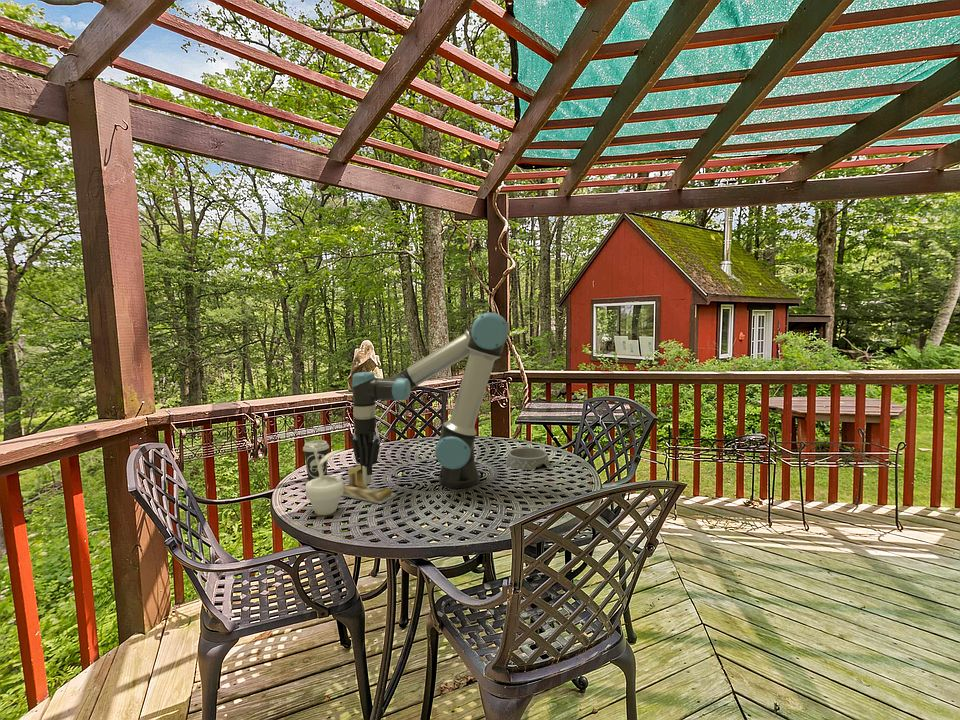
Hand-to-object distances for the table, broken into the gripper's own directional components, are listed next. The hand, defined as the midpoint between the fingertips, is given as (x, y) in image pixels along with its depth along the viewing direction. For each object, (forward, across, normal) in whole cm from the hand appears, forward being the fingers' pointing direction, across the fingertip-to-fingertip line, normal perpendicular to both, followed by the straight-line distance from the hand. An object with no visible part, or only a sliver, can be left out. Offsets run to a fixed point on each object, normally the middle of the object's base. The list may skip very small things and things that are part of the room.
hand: (367, 483), depth 169 cm
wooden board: (+4, -2, +1) cm, 4 cm away
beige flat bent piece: (+3, -1, +1) cm, 3 cm away
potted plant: (+4, +2, +17) cm, 18 cm away
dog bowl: (+4, -38, -56) cm, 67 cm away
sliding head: (+3, +4, 0) cm, 5 cm away
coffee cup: (+4, +26, -2) cm, 27 cm away
